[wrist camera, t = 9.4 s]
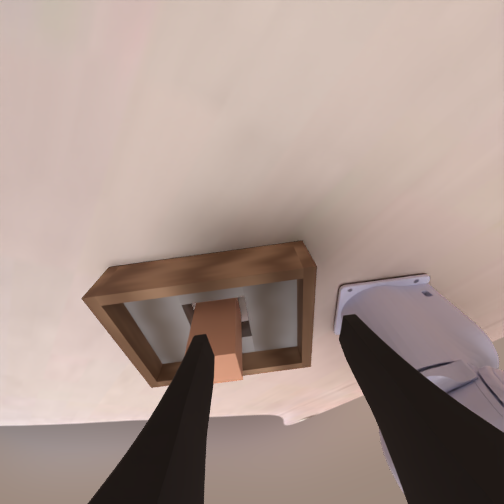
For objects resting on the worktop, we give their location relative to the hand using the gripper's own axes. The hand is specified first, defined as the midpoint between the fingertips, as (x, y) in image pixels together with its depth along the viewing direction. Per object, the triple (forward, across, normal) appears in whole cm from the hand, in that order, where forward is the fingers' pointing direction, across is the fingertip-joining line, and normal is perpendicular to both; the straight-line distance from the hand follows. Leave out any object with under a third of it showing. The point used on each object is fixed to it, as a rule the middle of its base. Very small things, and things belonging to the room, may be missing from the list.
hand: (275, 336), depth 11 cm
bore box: (+9, +5, +7) cm, 13 cm away
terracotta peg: (+10, +5, +7) cm, 13 cm away
